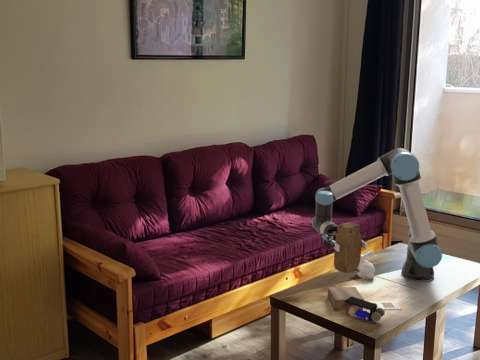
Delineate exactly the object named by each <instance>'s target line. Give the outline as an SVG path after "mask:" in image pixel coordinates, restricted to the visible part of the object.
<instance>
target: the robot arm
mask: <svg viewBox="0 0 480 360" xmlns="http://www.w3.org/2000/svg"><path fill="white" fill-rule="evenodd" d="M391 175H392V179H393V183H394V185H395V186H397V187H398V189H399V191H400V194H401V195H400V196H401V199H402V202H403V206H404V211H405V214H406V218H407V223H408V225H409V228H410V229H409V230H408V233H407V234H408V235H407V248H406V258H405V261H404V262H403V266H402V267H401V272H400V273H401V275H402V276H403V277H405V278H407V279H410V280H413V281H419V282H427V281H432V280H434V279H435V270H434V267H436V266H437V265H439V264H440V263H441V261H442V258H443V251H442V249H441V247H440V246H439V242H438V237H437V235H436V234H437V233H435V232H434V230H432V229H431V225H430V221H429V217H428V213H427V210H426V206H425V203H424V199H423V194H422V190H421V186H420V183H419V182H420V180H422V175H421V173H420V161H419V159H418V158H417V156H416V155H414V153H412V152H411V151H410V150H409V149H406V148H402V147H398V148H394V149H391V150H390V151H389V152H386V153H385V154H382V155H381V156H379V157H378V158H377V160H376V161H374V162H373V163H371V164H369V165H367V166H365V167H362V168H361V169H359V170H357V171H355V172H353V173H351V174H349V175H347V176H346V177H344V178H340V180H338V181H335V182H334V183H332V184H330V185H328V186H326V187H322V188H319V189H317V191H316V192H315V195H314V199H315V216H314V217H312V221H311V226H312V228H313V229H314V230H315V231H316V232H317V233H319V234H320V235H321V240H322V242H323V244H322V246H324V247H326V246H327V248H328V249H330V248H332V249H334V251H335V250H336V251H337V252H339V249H340V245H339V244H338V243H336V242H335V240H336V234H337V227H338V225H337V224H336V223H335V222H333V220H332V219H333V218H332V216H333V205H334V204H333V202H335V201H337V200H338V199H341V198H343V197H345V196H347V195H348V194H351V193H352V192H355V191H357V190H359V189H361V188H362V187H364V186H366V185H368V184H370V183H372V182H374V181H376V180H378V179H381V178H382V177H384V176H385V177H386V176H387V177H389V176H391ZM361 240H362V246H361V249H363V250H365V251H367V250H368V248H367V247H368V243H367V242H366V237H365V236H362V235H361Z"/></svg>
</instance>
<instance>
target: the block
mask: <svg viewBox="0 0 480 360" xmlns="http://www.w3.org/2000/svg"><path fill="white" fill-rule="evenodd" d="M337 226H338V227H337V234H336V240H335V242H336V243H338V244H339V245H340V249H339V252H337V251H336V250H335V249H334V253H333V256H334V257H333V268H334V269H335V270H336V271H338V272H340V273H345V274H349V273H353V272H354V271H356V270H357V269H358V266H359V263H360V258H361V255H362V247H361V246H362V240H361V236H362V235H361V233H360V225H359V223H355V222H350V221H347V222H344V223H340V224H339V225H337Z"/></svg>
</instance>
